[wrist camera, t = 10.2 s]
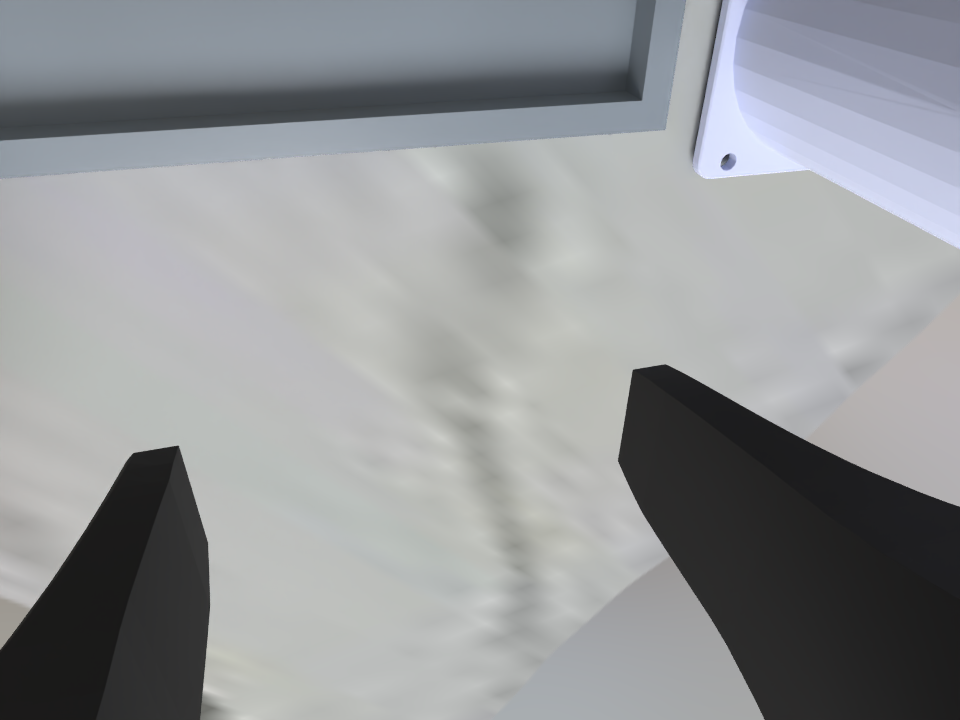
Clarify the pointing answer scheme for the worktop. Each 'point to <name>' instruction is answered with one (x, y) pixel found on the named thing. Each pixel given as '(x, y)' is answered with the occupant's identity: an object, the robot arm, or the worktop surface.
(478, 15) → the tray
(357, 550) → the worktop surface
